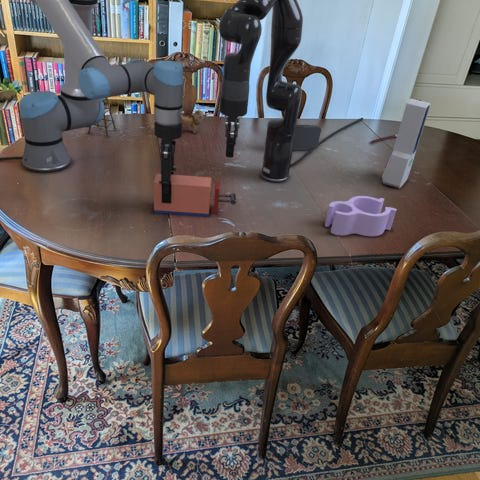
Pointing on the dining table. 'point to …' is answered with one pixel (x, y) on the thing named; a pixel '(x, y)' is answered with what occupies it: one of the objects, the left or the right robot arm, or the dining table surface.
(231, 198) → the drawer
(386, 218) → the clip
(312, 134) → the handheld gaming console
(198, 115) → the lion figurine
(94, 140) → the dining table surface
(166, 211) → the cabinet
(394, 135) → the sword
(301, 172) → the dining table surface
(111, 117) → the miniature windmill
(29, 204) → the dining table surface
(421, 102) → the electronic device
